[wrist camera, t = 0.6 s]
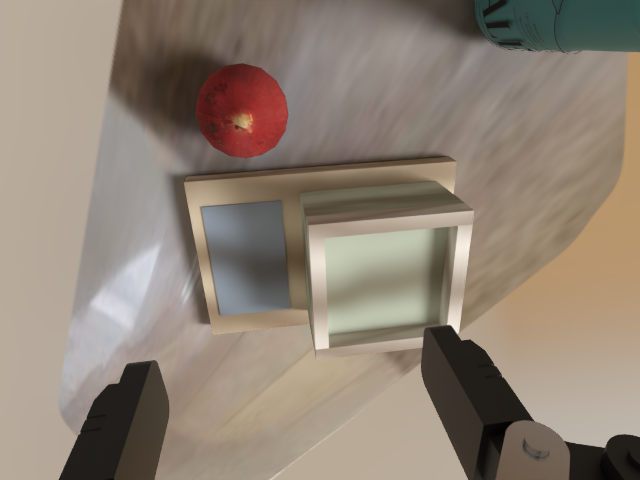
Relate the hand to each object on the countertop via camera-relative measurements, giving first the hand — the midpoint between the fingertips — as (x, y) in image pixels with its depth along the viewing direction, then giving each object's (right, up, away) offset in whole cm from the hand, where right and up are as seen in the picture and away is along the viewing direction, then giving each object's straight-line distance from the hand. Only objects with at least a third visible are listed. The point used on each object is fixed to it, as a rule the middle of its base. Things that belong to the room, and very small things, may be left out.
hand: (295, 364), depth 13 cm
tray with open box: (+1, +3, +24) cm, 24 cm away
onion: (-5, +14, +18) cm, 23 cm away
